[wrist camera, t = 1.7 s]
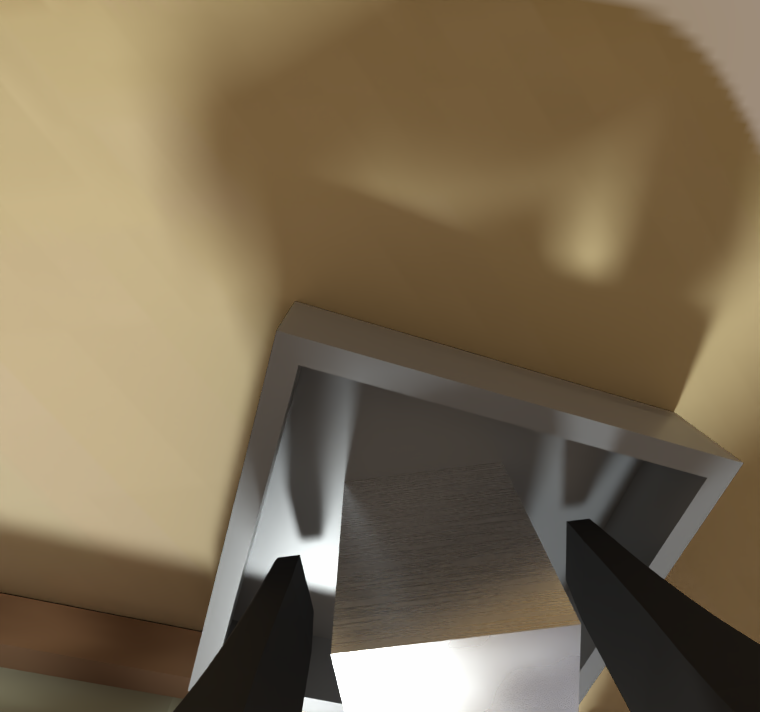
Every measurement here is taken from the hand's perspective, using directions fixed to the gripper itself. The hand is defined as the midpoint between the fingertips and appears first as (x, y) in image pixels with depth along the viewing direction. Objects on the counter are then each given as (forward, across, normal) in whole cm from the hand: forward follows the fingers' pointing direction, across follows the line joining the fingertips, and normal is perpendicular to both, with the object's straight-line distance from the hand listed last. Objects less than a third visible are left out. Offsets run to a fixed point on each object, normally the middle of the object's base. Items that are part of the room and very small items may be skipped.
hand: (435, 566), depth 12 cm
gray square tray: (+2, 0, 0) cm, 2 cm away
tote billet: (+1, 0, 0) cm, 1 cm away
